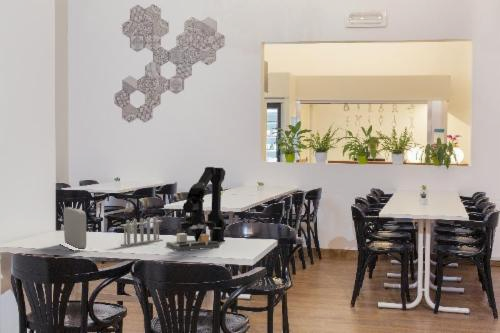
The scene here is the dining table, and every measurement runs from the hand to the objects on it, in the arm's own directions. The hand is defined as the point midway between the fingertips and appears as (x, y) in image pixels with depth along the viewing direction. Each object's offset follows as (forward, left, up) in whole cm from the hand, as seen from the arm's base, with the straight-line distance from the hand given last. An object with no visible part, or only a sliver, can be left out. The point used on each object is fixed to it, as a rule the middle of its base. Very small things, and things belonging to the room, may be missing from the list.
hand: (196, 241), depth 369 cm
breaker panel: (0, -4, -3) cm, 5 cm away
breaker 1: (+4, -9, -1) cm, 10 cm away
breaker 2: (-4, 0, -1) cm, 4 cm away
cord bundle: (0, +4, -1) cm, 4 cm away
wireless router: (+53, -35, -3) cm, 64 cm away
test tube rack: (+19, -29, -4) cm, 35 cm away
